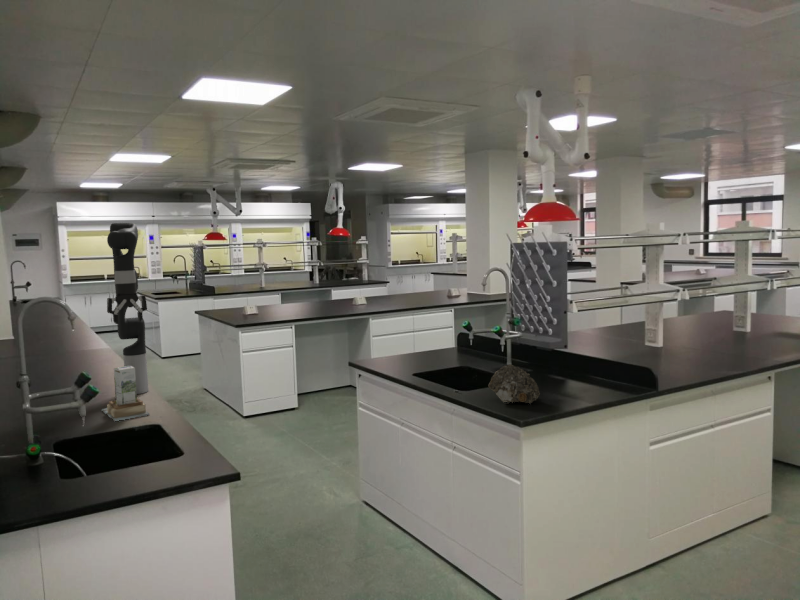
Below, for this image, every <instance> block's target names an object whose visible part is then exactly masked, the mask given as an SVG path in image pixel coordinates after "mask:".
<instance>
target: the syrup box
mask: <svg viewBox="0 0 800 600" xmlns="http://www.w3.org/2000/svg"><path fill="white" fill-rule="evenodd" d="M113 378H114V393H115V394H114V395H115V400H116V405H124V404H129V403H135V402H137V398H138V397H137V395H138V394H136V377H135V368H134V367H132V366H124V365H123V366H119V367H114V368H113Z"/></svg>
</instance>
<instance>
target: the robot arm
mask: <svg viewBox="0 0 800 600" xmlns="http://www.w3.org/2000/svg"><path fill="white" fill-rule="evenodd" d="M138 231H139V229H138V227H137V225H136V224H135V223H134V222H112V223H111V224H110V226H109V233H108V235H107V238H106V240H107V245H108V247H109V248H110V249H111V251H112V257H113V275H114V276H113V278H114V289H115V297H108V298H107V300H106V305H107V306H106V308H107V309H106V310H107V311H106V312H107V313H108V314H111V315H112V319H113V320H112V321H113V323H114V324H115V325H117V334H118V338H119V340H123V341H124V340H134V339H136V341H135V342H133V343H132V344H131V345H130V344H129V345H128V346H125V347H124V348H123V349H122V354H123V355H122V358H123V367H124V366H132V367H134V368H135V377H136V394H137V395H139V394H145V393H147V392H149V375H148V373H149V372H148V360H147V347H146V346H147V345H146V324H145V320H144V318H143V312H145V311H147V310H148V304H147V299H146V298H147V296H146V295H144V294H143V295H142V294H141V295H138V294H137V292H138V289H139V281H138V280H139V279H138V272H137V270H136V269H135V252H136V247H137V244H138V240H139V232H138ZM122 250H127V251H126V253H123V251H122ZM138 301H140V302H141V303H140V304H141V307H140V306H139V304H138V303H137V302H138ZM115 302H116V306H115V307H114V309H113V304H114V303H115ZM128 308H134V309H135V310H136V311H137V314H136V315H137V316H136V317H127V318H126V314H127V310H128Z"/></svg>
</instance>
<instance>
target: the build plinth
mask: <svg viewBox="0 0 800 600" xmlns="http://www.w3.org/2000/svg"><path fill="white" fill-rule="evenodd" d="M146 409H147V408H146V404H145V403H144V401H143V400H141V399H140V398H138V397H137V402H135V403H129V404H124V405H116V399H115V400H109V401H108V404H106V408H102V409H101V412H102V411H103V413H104V414H105V415H106V414H107V415H108V416H107V415H106V416H107V417H109V418H110V417H111V418H112V419H113V420H112V419H111V418H110V419H111V420H112V421H114V420H115V421H119V420H124V421H126V420H125V419H129V420H131V419H130V418H134V419H136V418H135V417H139V418H142V417H141V416H144V417H148V416H147V415H149V416H150V412H148V411H147V410H146ZM115 421H114V422H115ZM119 422H120V421H119Z"/></svg>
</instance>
